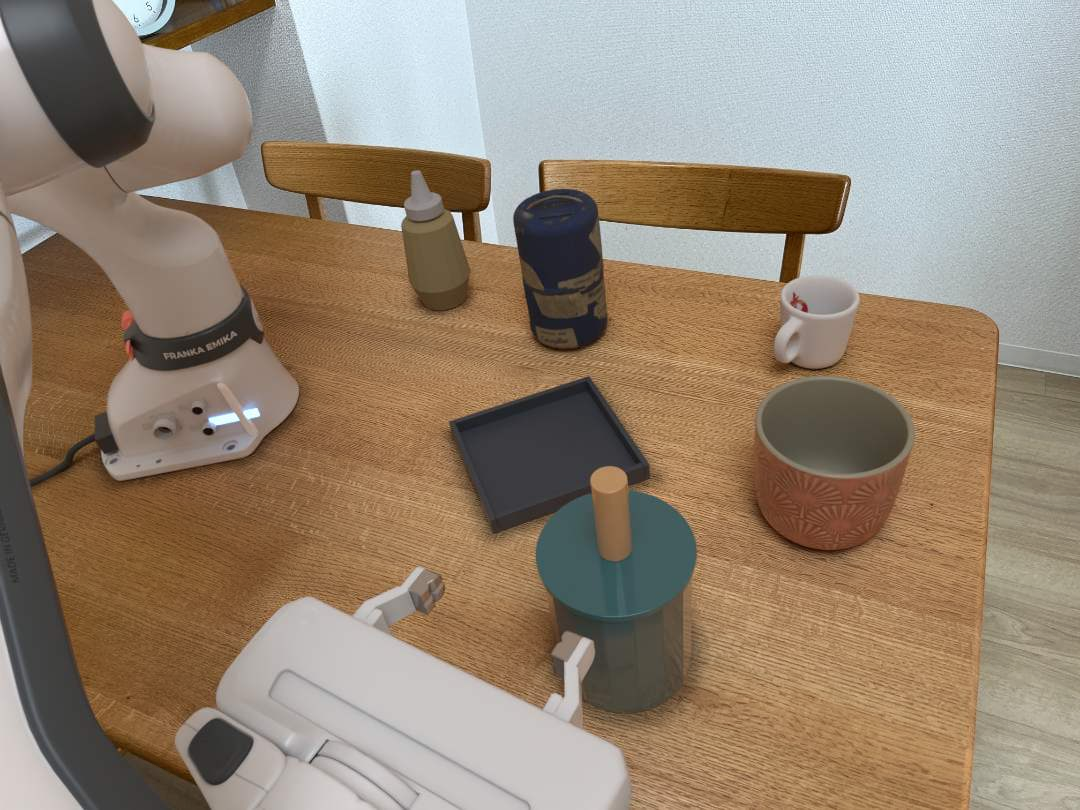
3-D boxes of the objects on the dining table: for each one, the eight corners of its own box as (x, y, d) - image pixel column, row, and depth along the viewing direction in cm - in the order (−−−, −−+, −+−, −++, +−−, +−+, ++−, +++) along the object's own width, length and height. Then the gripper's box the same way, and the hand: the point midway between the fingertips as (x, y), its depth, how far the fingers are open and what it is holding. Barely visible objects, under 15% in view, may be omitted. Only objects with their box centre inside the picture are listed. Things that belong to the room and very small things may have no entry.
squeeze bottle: (442, 277, 112) (413, 153, 100) (487, 291, 108) (463, 163, 96) (403, 307, 107) (368, 181, 96) (448, 322, 103) (417, 193, 92)
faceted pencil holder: (589, 734, 60) (574, 639, 52) (542, 624, 68) (522, 526, 60) (714, 683, 62) (718, 583, 54) (655, 581, 70) (650, 481, 61)
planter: (904, 570, 67) (929, 480, 60) (751, 562, 70) (758, 474, 63) (881, 464, 77) (901, 375, 69) (746, 460, 79) (752, 374, 72)
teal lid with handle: (571, 652, 52) (558, 573, 47) (516, 530, 60) (500, 451, 55) (726, 591, 54) (731, 509, 49) (653, 481, 62) (649, 401, 57)
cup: (806, 400, 84) (813, 339, 79) (744, 369, 89) (747, 310, 84) (864, 351, 89) (875, 291, 84) (803, 325, 94) (809, 266, 89)
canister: (602, 356, 94) (590, 217, 82) (523, 354, 96) (501, 218, 85) (613, 309, 101) (603, 175, 89) (539, 308, 103) (520, 177, 92)
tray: (493, 534, 76) (489, 520, 75) (452, 434, 87) (448, 421, 86) (650, 478, 79) (649, 464, 77) (590, 389, 90) (589, 375, 89)
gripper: (530, 971, 28) (687, 650, 36) (149, 717, 37) (346, 509, 45) (551, 1018, 32) (687, 720, 40) (204, 780, 41) (374, 578, 49)
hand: (504, 607), depth 43 cm, fingers open, 8 cm apart
